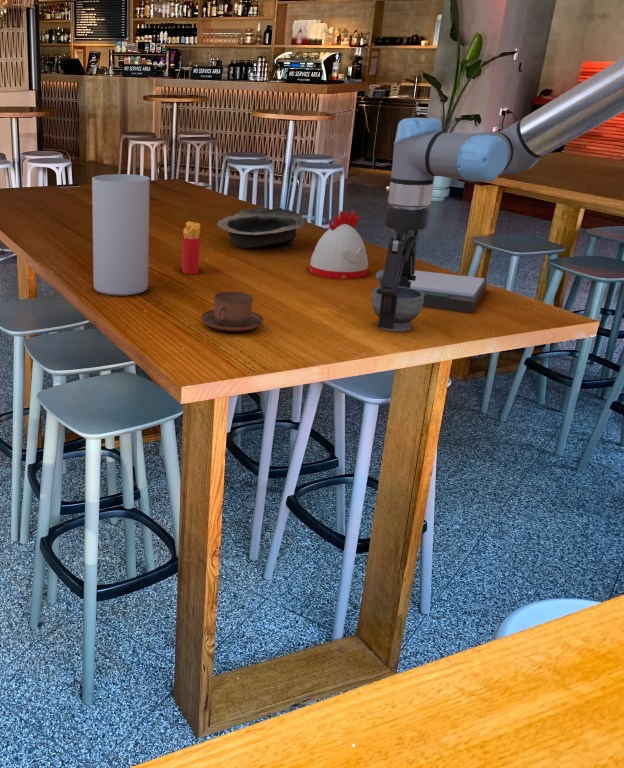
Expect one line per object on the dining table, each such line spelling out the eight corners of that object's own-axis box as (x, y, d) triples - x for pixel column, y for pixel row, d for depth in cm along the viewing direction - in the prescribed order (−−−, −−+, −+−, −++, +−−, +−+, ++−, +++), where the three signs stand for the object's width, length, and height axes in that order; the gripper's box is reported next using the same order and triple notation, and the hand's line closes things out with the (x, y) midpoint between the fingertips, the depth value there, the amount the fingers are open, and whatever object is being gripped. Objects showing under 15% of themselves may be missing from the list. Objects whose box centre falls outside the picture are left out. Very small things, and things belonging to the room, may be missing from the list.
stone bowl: (304, 237, 234) (307, 206, 230) (302, 262, 212) (306, 228, 208) (220, 232, 239) (222, 202, 235) (211, 256, 217) (212, 223, 213)
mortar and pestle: (392, 316, 162) (399, 258, 157) (430, 328, 154) (439, 268, 150) (353, 325, 156) (360, 265, 152) (391, 338, 149) (399, 276, 144)
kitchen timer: (378, 275, 193) (386, 213, 187) (330, 280, 188) (336, 217, 183) (345, 263, 205) (351, 204, 199) (298, 267, 201) (304, 208, 195)
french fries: (180, 267, 202) (181, 219, 197) (195, 266, 202) (197, 219, 197) (184, 275, 194) (185, 226, 189) (200, 275, 194) (202, 226, 189)
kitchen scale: (471, 313, 164) (474, 298, 162) (392, 302, 171) (394, 288, 170) (485, 291, 179) (487, 277, 178) (412, 282, 187) (414, 269, 186)
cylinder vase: (154, 295, 177) (155, 180, 168) (99, 298, 175) (98, 182, 165) (140, 281, 188) (141, 173, 179) (89, 284, 186) (87, 175, 177)
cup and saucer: (259, 339, 149) (261, 307, 146) (196, 333, 152) (197, 302, 149) (265, 320, 159) (267, 290, 157) (206, 315, 162) (207, 286, 160)
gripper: (401, 195, 157) (387, 302, 166) (371, 213, 139) (357, 332, 147) (441, 198, 154) (424, 307, 162) (415, 217, 135) (398, 339, 144)
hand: (392, 319), depth 155 cm, fingers open, 11 cm apart
